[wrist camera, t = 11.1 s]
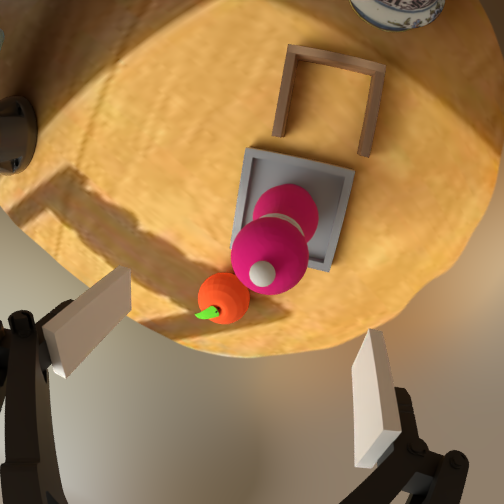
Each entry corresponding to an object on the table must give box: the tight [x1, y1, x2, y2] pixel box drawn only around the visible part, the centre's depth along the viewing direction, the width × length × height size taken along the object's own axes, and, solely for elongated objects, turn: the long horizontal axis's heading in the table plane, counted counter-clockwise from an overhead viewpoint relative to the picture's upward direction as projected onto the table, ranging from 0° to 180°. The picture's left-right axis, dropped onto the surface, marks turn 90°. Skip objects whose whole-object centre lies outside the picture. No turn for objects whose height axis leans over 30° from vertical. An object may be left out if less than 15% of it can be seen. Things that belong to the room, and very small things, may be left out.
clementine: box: [195, 273, 250, 324], centre depth 43 cm, size 8×7×7 cm
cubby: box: [272, 44, 386, 158], centre depth 33 cm, size 11×11×4 cm
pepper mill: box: [231, 184, 319, 295], centre depth 30 cm, size 7×7×20 cm
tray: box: [230, 147, 355, 272], centre depth 39 cm, size 13×13×2 cm
